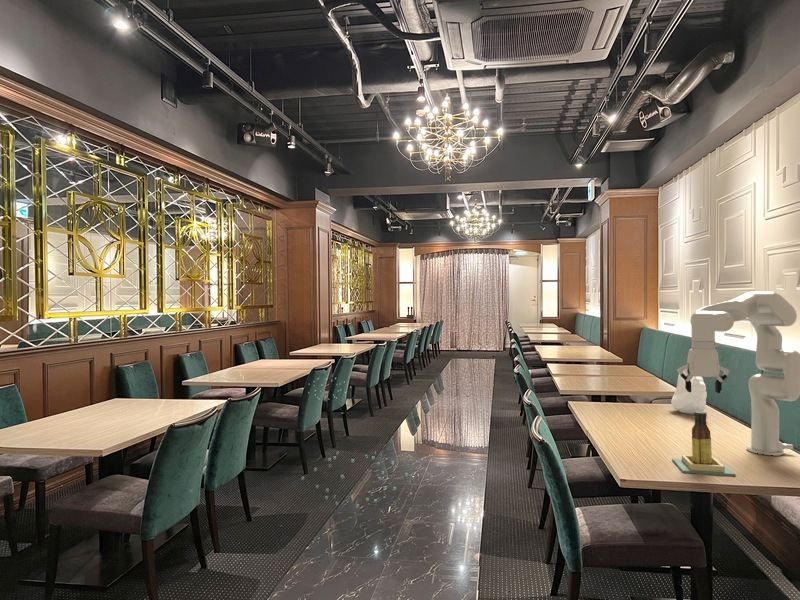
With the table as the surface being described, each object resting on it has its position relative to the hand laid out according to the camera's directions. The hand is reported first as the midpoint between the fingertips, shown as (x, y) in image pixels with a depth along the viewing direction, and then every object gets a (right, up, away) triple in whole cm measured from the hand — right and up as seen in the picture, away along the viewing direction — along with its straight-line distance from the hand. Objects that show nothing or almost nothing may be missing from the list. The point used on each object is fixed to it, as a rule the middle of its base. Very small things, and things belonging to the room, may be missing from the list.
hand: (703, 392), depth 201 cm
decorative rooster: (+45, -28, +93) cm, 107 cm away
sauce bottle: (-1, -28, 0) cm, 28 cm away
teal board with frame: (0, -28, 0) cm, 28 cm away
